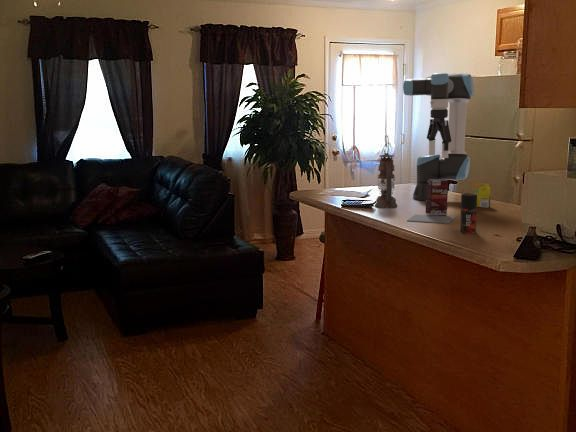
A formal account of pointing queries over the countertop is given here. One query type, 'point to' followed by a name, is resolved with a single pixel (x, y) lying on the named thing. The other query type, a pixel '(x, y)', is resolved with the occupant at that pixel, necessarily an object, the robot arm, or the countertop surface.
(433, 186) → the supplement box
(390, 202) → the lantern
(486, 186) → the crayon box
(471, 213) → the deodorant
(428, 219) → the mat
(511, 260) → the countertop surface
